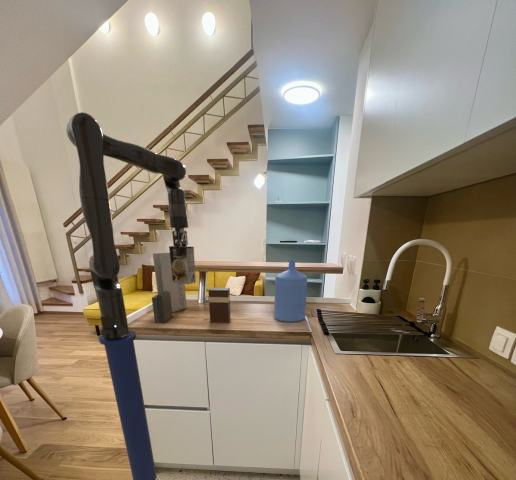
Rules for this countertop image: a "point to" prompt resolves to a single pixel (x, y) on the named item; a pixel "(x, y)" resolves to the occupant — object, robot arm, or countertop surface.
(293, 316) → the water jug
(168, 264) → the tall grey box
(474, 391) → the countertop surface
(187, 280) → the coffee box
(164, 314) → the grey books
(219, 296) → the box
